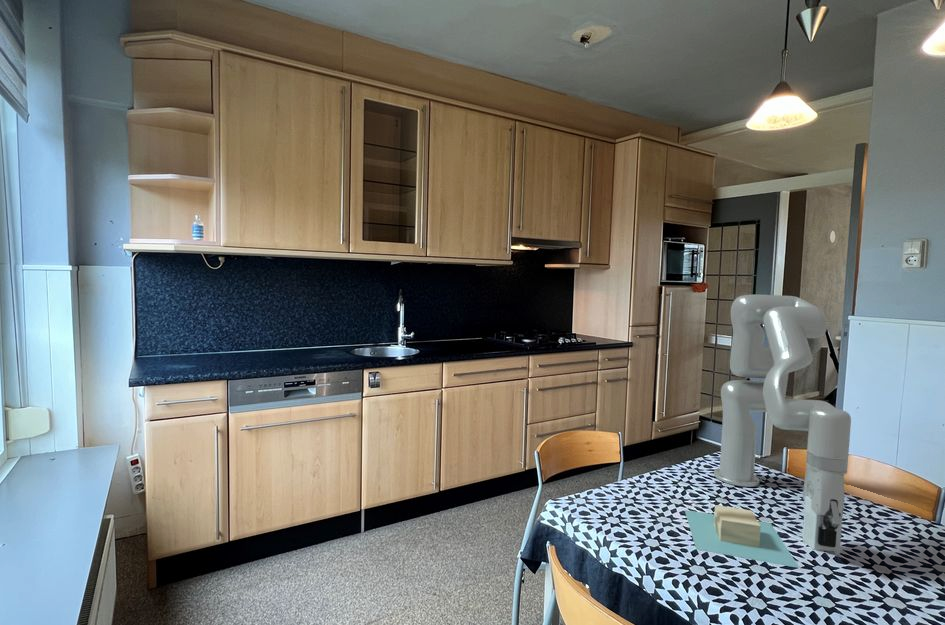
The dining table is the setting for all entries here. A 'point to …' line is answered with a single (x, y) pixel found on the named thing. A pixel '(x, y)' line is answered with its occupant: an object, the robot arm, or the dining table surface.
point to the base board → (766, 552)
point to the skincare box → (817, 529)
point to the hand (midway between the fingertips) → (821, 538)
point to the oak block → (737, 526)
